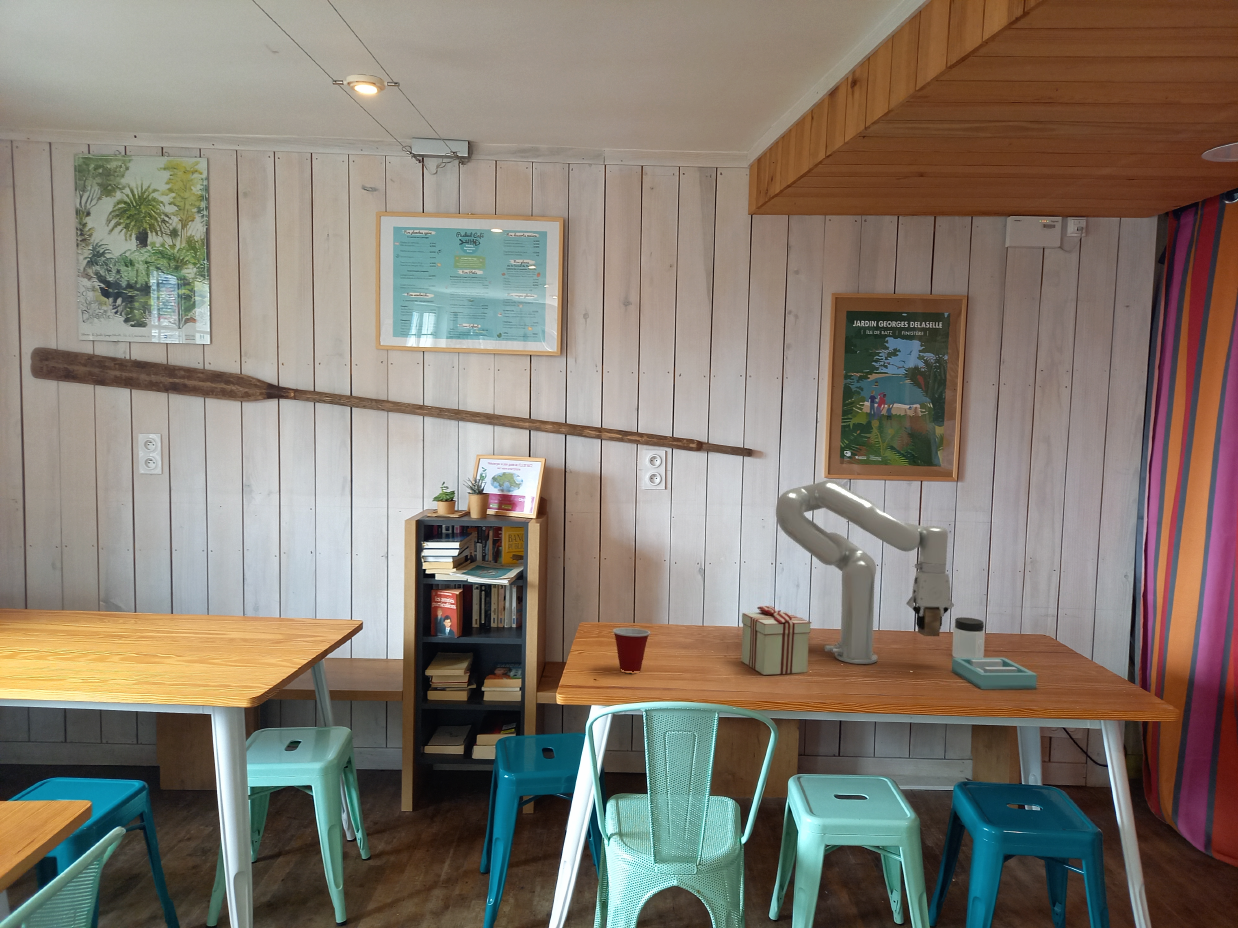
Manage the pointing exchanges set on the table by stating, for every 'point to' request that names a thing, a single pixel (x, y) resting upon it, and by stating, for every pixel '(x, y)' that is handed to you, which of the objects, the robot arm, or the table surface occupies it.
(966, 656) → the jar
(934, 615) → the brown wooden block
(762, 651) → the gift box
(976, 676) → the candle dish
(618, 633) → the plastic cup
